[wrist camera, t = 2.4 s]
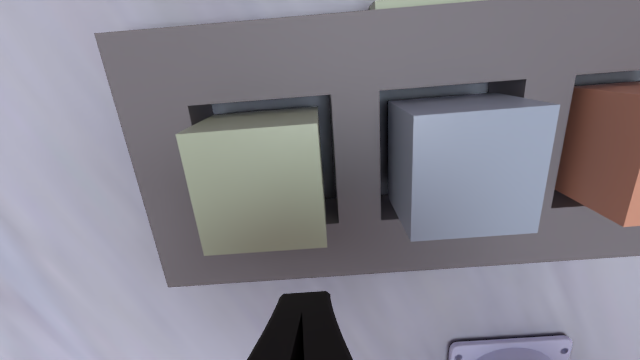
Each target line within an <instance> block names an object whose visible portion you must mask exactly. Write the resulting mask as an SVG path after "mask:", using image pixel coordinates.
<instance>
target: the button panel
mask: <svg viewBox="0 0 640 360" xmlns="http://www.w3.org/2000/svg"><path fill="white" fill-rule="evenodd" d="M94 34H95V38H96V41H97V45H98V48H99V51H100V55H101V58H102V62H103V65H104V69H105V72H106V75H107V79H108V82H109V86H110V89H111V93H112V96H113V100H114V103H115V106H116V110H117V113H118V117H119V120H120V124H121V127H122V130H123V134H124V137H125V141H126V144H127V148H128V151H129V154H130V158H131V161H132V165H133V168H134V172H135V175H136V178H137V182H138V185H139V189H140V192H141V196H142V199H143V202H144V206H145V209H146V213H147V216H148V220H149V223H150V227H151V230H152V233H153V237H154V240H155V244H156V247H157V251H158V254H159V257H160V261H161V264H162V268H163V271H164V275H165V278H166V281H167V285H168V287H180V286H195V285H210V284H225V283H240V282H255V281H270V280H285V279H300V278H315V277H329V276H344V275H359V274H374V273H389V272H404V271H419V270H434V269H449V268H464V267H479V266H493V265H508V264H523V263H538V262H553V261H568V260H583V259H598V258H613V257H628V256H640V226H631V227H622V226H620V225H619V224H617V223H615V222H613V221H611V220H610V219H608V218H606V217H604V216H602V215H600V214H599V213H597V212H595V211H593V210H591V209H589V208H588V207H586V206H584V205H582V204H580V203H578V202H577V201H575V200H573V199H571V198H569V197H568V196H566V195H564V194H562V193H560V192H558V191H557V190H555V184H556V179H557V174H558V169H559V163H560V158H561V153H562V147H563V142H564V137H565V131H566V126H567V121H568V116H569V110H570V105H571V100H572V94H573V89H574V84H575V79H576V75H583V74H596V73H608V72H621V71H634V70H640V0H377V1H374V2H373V3H372V4H371V5H370V7H369V10H365V11H353V12H341V13H330V14H318V15H306V16H294V17H282V18H271V19H259V20H247V21H235V22H223V23H212V24H200V25H188V26H176V27H164V28H153V29H141V30H129V31H117V32H106V33H94ZM482 82H489V90H488V93H500V94H506V95H511V96H517V97H522V98H528V99H533V100H538V101H544V102H549V103H555V104H560V110H559V115H558V121H557V127H556V132H555V138H554V143H553V149H552V155H551V160H550V166H549V171H548V177H547V183H546V188H545V194H544V200H543V205H542V211H541V216H540V222H539V228H538V233H530V234H515V235H501V236H486V237H472V238H457V239H443V240H428V241H414V242H411V241H410V239H409V237H408V235H407V233H406V231H405V230H404V228H403V226H402V224H401V222H400V220H399V218H398V216H397V214H396V212H395V210H394V208H393V206H392V204H391V202H390V200H389V198H388V195H381V183H380V103H379V91H382V90H394V89H407V88H419V87H432V86H445V85H457V84H470V83H482ZM318 95H329V100H330V116H331V131H332V146H333V162H334V177H335V193H336V198H332V199H325V210H326V230H327V248H313V249H298V250H284V251H269V252H255V253H240V254H226V255H211V256H204V254H203V250H202V245H201V241H200V237H199V233H198V228H197V224H196V220H195V216H194V211H193V207H192V203H191V199H190V194H189V190H188V186H187V182H186V177H185V173H184V169H183V164H182V160H181V156H180V152H179V147H178V143H177V139H176V135H175V134H177V133H179V132H181V131H183V130H185V129H187V128H189V127H191V126H192V125H194V124H196V123H198V122H200V121H202V120H204V119H206V118H208V117H210V116H212V115H213V111H212V105H211V104H218V103H230V102H243V101H255V100H268V99H281V98H293V97H306V96H318Z"/></svg>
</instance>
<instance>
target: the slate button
mask: <svg viewBox="0 0 640 360" xmlns="http://www.w3.org/2000/svg"><path fill="white" fill-rule="evenodd" d="M559 110H560V104H555V103H549V102H544V101H538V100H533V99H528V98H522V97H517V96H511V95H506V94H500V93H482V94H470V95H457V96H444V97H432V98H419V99H406V100H393V101H388V198H389V200H390V202H391V204H392V206H393V208H394V210H395V212H396V214H397V216H398V218H399V220H400V222H401V224H402V226H403V228H404V230H405V231H406V233H407V235H408V237H409V239H410V241H411V242H414V241H428V240H443V239H457V238H472V237H486V236H501V235H515V234H530V233H538V228H539V222H540V216H541V211H542V205H543V200H544V194H545V188H546V183H547V177H548V171H549V166H550V160H551V155H552V149H553V143H554V138H555V132H556V127H557V121H558V115H559Z"/></svg>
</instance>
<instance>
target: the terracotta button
mask: <svg viewBox="0 0 640 360" xmlns="http://www.w3.org/2000/svg"><path fill="white" fill-rule="evenodd" d="M555 190H557V191H558V192H560V193H562V194H564V195H566V196H568V197H569V198H571V199H573V200H575V201H577V202H578V203H580V204H582V205H584V206H586V207H588V208H589V209H591V210H593V211H595V212H597V213H599V214H600V215H602V216H604V217H606V218H608V219H610V220H611V221H613V222H615V223H617V224H619V225H620V226H622V227H631V226H640V81H635V82H622V83H610V84H597V85H584V86H574V89H573V94H572V100H571V105H570V110H569V116H568V121H567V126H566V131H565V137H564V142H563V147H562V153H561V158H560V163H559V169H558V174H557V179H556V184H555Z"/></svg>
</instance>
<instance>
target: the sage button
mask: <svg viewBox="0 0 640 360" xmlns="http://www.w3.org/2000/svg"><path fill="white" fill-rule="evenodd" d="M175 135H176V139H177V143H178V147H179V152H180V156H181V160H182V164H183V169H184V173H185V177H186V182H187V186H188V190H189V194H190V199H191V203H192V207H193V211H194V216H195V220H196V224H197V228H198V233H199V237H200V241H201V245H202V250H203V254H204V256H211V255H226V254H240V253H255V252H269V251H284V250H298V249H313V248H327V230H326V210H325V194H324V181H323V168H322V156H321V143H320V130H319V117H318V106H317V107H304V108H292V109H279V110H266V111H253V112H241V113H228V114H215V115H212V116H210V117H208V118H206V119H204V120H202V121H200V122H198V123H196V124H194V125H192V126H191V127H189V128H187V129H185V130H183V131H181V132H179V133H177V134H175Z"/></svg>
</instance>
